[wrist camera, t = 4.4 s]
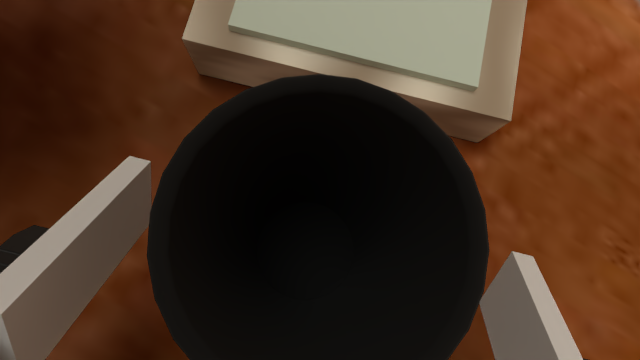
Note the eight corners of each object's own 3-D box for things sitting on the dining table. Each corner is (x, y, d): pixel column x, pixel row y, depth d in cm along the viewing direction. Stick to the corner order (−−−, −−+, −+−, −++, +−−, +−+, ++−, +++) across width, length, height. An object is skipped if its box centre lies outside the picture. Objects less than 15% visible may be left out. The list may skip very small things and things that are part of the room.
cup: (274, 153, 22) (254, 20, 10) (402, 217, 21) (537, 160, 10) (201, 285, 20) (72, 315, 8) (338, 356, 20) (408, 492, 8)
